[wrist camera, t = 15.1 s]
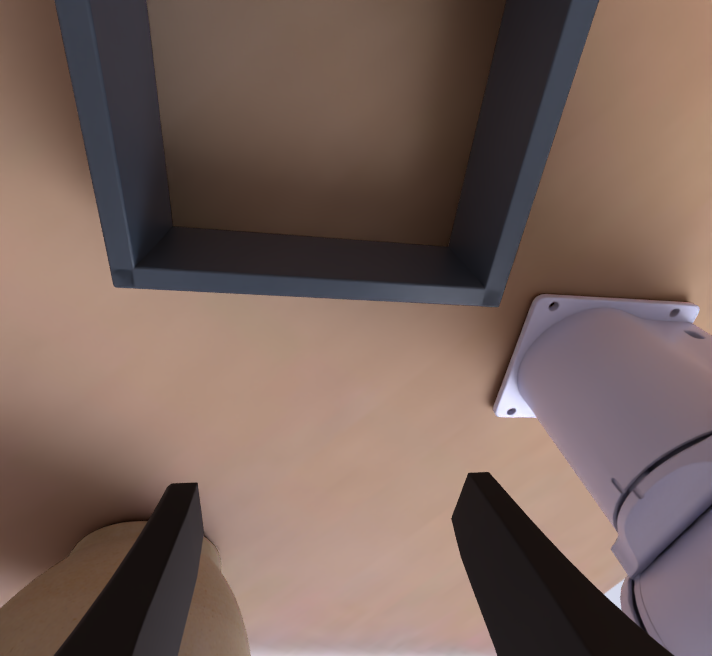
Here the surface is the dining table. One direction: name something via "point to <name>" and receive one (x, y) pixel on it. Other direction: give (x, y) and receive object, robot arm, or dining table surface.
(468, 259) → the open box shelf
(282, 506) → the dining table surface
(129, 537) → the planter bowl
